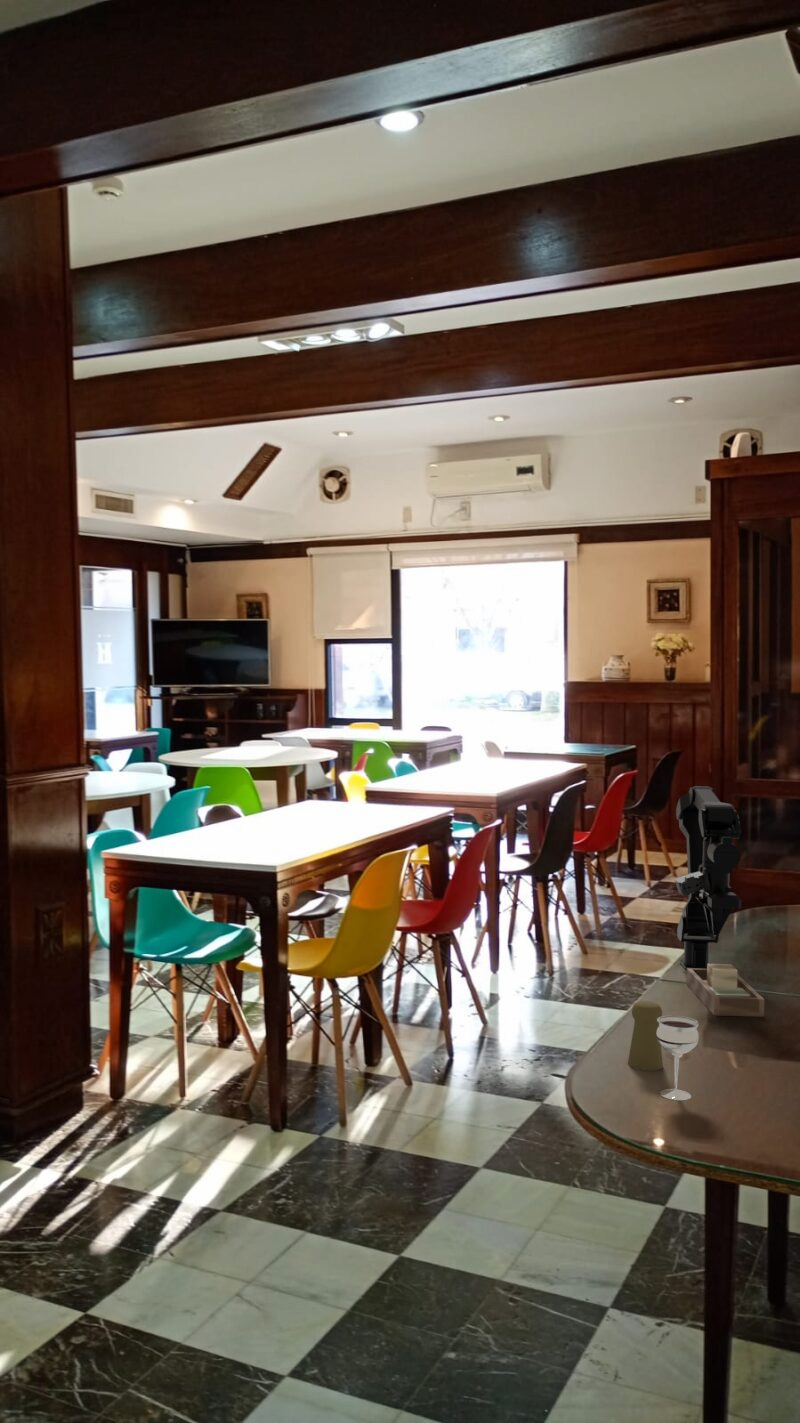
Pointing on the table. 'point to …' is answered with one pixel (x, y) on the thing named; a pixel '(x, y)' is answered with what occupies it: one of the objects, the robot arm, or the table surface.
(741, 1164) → the table surface
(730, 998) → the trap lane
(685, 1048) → the wineglass
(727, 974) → the block
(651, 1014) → the cork
